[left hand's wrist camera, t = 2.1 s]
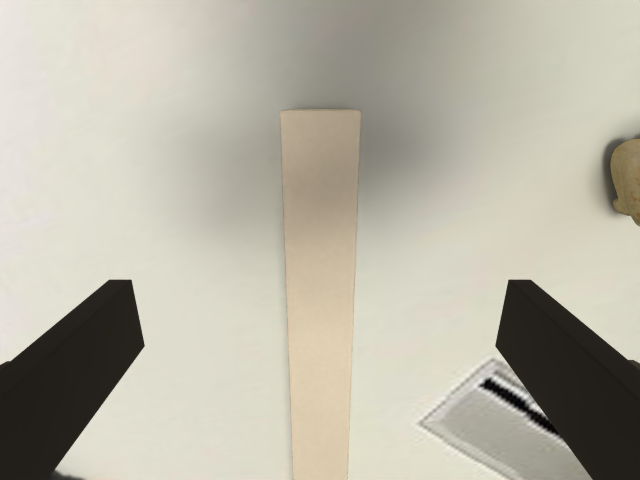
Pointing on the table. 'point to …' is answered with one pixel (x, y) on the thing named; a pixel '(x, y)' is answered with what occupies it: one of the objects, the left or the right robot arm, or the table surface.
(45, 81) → the table surface
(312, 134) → the post
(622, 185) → the sculpture
